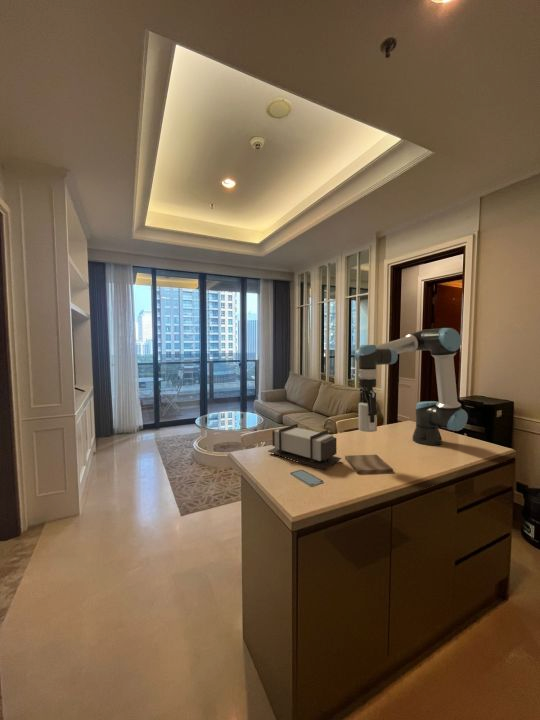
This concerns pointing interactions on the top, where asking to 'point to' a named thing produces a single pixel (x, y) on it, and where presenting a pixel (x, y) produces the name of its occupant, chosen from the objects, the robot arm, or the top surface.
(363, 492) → the top surface
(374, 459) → the walnut board
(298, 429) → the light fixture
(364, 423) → the beige cylinder
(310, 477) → the smartphone
